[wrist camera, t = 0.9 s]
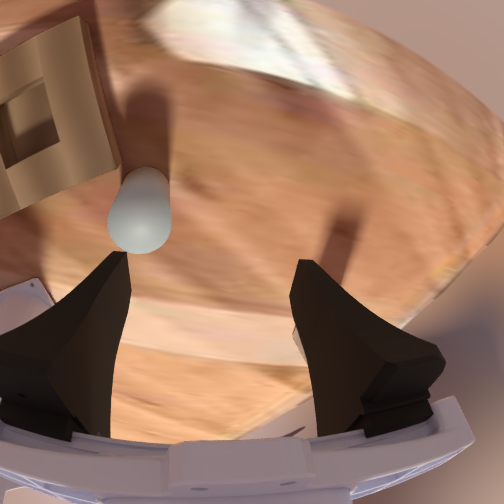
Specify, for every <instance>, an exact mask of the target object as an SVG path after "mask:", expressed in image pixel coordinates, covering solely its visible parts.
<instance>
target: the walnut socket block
mask: <svg viewBox="0 0 504 504" xmlns="http://www.w3.org/2000/svg"><path fill="white" fill-rule="evenodd" d="M122 161H123V160H122V157H121V154H120V150H119V147H118V144H117V140H116V137H115V134H114V130H113V127H112V123H111V120H110V116H109V112H108V109H107V105H106V101H105V97H104V93H103V89H102V85H101V81H100V77H99V73H98V68H97V64H96V59H95V55H94V50H93V45H92V40H91V35H90V29H89V24H88V23H87V22H86V21H85V20H83V19H82V18H81V17H80V16H79V15H78V16H76V17H74V18H71V19H69V20H67V21H65V22H62V23H60V24H58V25H56V26H54V27H52V28H50V29H48V30H46V31H44V32H42V33H40V34H38V35H36V36H34V37H33V38H31V39H29V40H27V41H25V42H24V43H22V44H20V45H18V46H17V47H15V48H13V49H12V50H10V51H8V52H7V53H5V54H4V55H2V56H0V220H1V219H3V218H5V217H7V216H9V215H11V214H13V213H15V212H17V211H19V210H21V209H23V208H25V207H27V206H29V205H31V204H34V203H36V202H38V201H40V200H42V199H44V198H47V197H49V196H51V195H53V194H56V193H58V192H60V191H62V190H65V189H67V188H69V187H72V186H74V185H77V184H79V183H82V182H84V181H87V180H89V179H92V178H94V177H97V176H99V175H102V174H105V173H107V172H110V171H113V170H116V169H117V168H118V167H119V165H120V164H121V162H122Z"/></svg>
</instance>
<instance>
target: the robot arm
mask: <svg viewBox="0 0 504 504" xmlns="http://www.w3.org/2000/svg"><path fill="white" fill-rule="evenodd" d="M31 283H33V284H34V285H32V284H31ZM131 291H132V289H131V282H130V275H129V267H128V259H127V252H120V251H113V252H112V253H111V254H109V255H108V256H107V257H106V258H105V259H104V260H103V261H102V262H101V263H100V264H99V265H98V266H97V267H96V268H95V269H94V270H93V271H92V272H91V273H90V274H89V275H88V276H87V277H86V278H85V279H84V280H83V281H82V282H81V283H80V284H79V285H78V286H77V287H75V288H74V289H73V290H72V291H71V292H70V293H69V294H67V295H66V296H65V297H64V298H63V299H61V300H60V301H59V302H57V303H56V304H54V303H53V301H52V299H51V298H50V296H49V294H48V293H47V291H46V289H45V288H44V286H43V284H42V282H41V281H40V280H39V279H38V278H33V279H30V280H28V281H25V282H22V283H20V284H17V285H15V286H12V287H9V288H7V289H4V290H2V291H0V504H4V500H5V495H6V492H7V491H10V490H14V489H18V488H23V487H28V488H31V489H33V490H36V491H39V492H41V493H44V494H47V495H50V496H53V497H56V498H59V499H62V500H65V501H69V502H72V503H76V504H353V503H352V500H353V499H356V498H360V497H362V496H366V495H369V494H372V493H374V492H377V491H380V490H383V489H385V488H388V487H391V486H393V485H396V484H398V483H401V482H403V481H406V480H408V479H410V478H413V477H415V476H417V475H420V474H422V473H424V472H426V471H429V470H431V469H433V468H435V467H437V466H439V465H441V464H443V463H445V462H446V461H448V460H449V459H451V458H452V457H454V456H455V455H457V454H458V453H459V452H461V451H462V450H464V449H465V448H466V447H468V446H469V445H471V444H472V443H474V442H475V438H474V436H473V433H472V431H471V429H470V427H469V425H468V423H467V420H466V418H465V416H464V414H463V412H462V410H461V408H460V406H459V404H458V402H457V400H456V398H455V396H450V397H447V398H444V399H441V400H438V401H436V402H434V403H432V404H431V405H430V404H429V402H428V400H427V399H429V398H430V393H429V391H428V388H429V387H430V386H431V385H432V384H433V383H434V382H435V381H436V379H437V378H438V377H439V376H440V375H441V373H442V372H443V370H444V367H445V364H446V361H445V359H444V357H443V356H442V354H441V352H440V351H439V349H438V347H437V345H435V344H432V343H430V342H427V341H424V340H422V339H419V338H417V337H415V336H413V335H410V334H408V333H406V332H404V331H402V330H401V329H399V328H397V327H395V326H393V325H392V324H390V323H388V322H387V321H385V320H383V319H382V318H380V317H379V316H377V315H376V314H374V313H373V312H371V311H370V310H369V309H367V308H366V307H364V306H363V305H362V304H361V303H359V302H358V301H357V300H356V299H355V298H353V297H352V296H351V295H350V294H349V293H348V292H346V291H345V290H344V289H343V288H342V287H341V286H340V285H339V284H338V283H337V282H335V281H334V280H333V279H332V278H331V277H330V276H329V275H328V274H327V273H326V272H325V271H324V270H323V269H322V268H321V267H320V266H319V265H318V264H317V263H315V262H314V261H313V260H305V259H299V261H298V265H297V268H296V272H295V276H294V280H293V283H292V287H291V291H290V294H289V297H290V304H291V309H292V315H293V318H294V322H295V325H296V328H297V331H298V334H299V337H300V340H301V343H302V346H303V350H304V353H305V356H306V360H307V363H308V368H309V373H310V378H311V384H312V390H313V397H314V404H315V412H316V421H317V434H318V437H316V438H309V439H302V438H299V437H277V438H265V439H250V440H216V441H205V440H200V441H184V442H181V443H177V444H174V445H173V444H158V443H146V442H136V441H127V440H119V439H112V438H110V415H111V395H112V383H113V374H114V365H115V359H116V354H117V350H118V346H119V342H120V339H121V335H122V331H123V328H124V324H125V321H126V317H127V314H128V309H129V303H130V297H131Z"/></svg>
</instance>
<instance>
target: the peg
mask: <svg viewBox="0 0 504 504" xmlns="http://www.w3.org/2000/svg"><path fill="white" fill-rule="evenodd" d="M107 227H108V232H109V235H110V237H111V238H112V240H113V241H114V243H115V244H116V245H117V246H118V247H120V248H121V249H123V250H125V251H127V252H130V253H134V254H145V253H149V252H152V251H154V250H156V249H158V248H159V247H161V246H162V245H163V244H164V243H165V241H166V240H167V238H168V236H169V234H170V231H171V208H170V190H169V183H168V180H167V179H166V177H165V176H164V174H163V173H162V172H160V171H159V170H157V169H155V168H152V167H139V168H136V169H134V170H133V171H131V172H130V173H129V174H128V175H127V176H126V177H125V179H124V181H123V183H122V185H121V187H120V189H119V191H118V194H117V196H116V198H115V200H114V202H113V205H112V207H111V209H110V212H109V214H108V219H107Z"/></svg>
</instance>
